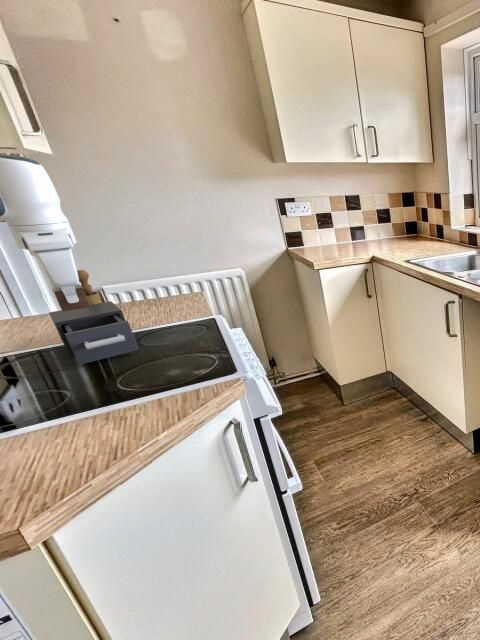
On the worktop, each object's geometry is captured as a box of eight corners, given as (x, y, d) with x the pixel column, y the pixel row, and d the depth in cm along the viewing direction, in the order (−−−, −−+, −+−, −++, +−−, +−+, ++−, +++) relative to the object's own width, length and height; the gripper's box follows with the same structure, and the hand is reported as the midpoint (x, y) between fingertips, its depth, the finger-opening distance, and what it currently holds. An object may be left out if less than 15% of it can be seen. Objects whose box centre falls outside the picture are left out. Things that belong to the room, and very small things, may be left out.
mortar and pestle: (107, 332, 124) (83, 272, 117) (83, 334, 123) (56, 273, 116) (123, 325, 130) (100, 267, 123) (99, 326, 129) (75, 268, 122)
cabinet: (134, 343, 115) (121, 309, 112) (71, 358, 106) (54, 322, 103) (123, 332, 124) (111, 301, 120) (64, 345, 115) (48, 312, 111)
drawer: (143, 353, 106) (132, 324, 103) (81, 369, 98) (67, 338, 95) (128, 338, 116) (117, 312, 113) (71, 352, 108) (58, 323, 105)
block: (62, 311, 92) (53, 291, 91) (60, 307, 95) (51, 288, 93) (90, 306, 96) (82, 287, 94) (87, 303, 98) (79, 284, 97)
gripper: (21, 235, 94) (47, 295, 99) (26, 243, 81) (56, 312, 86) (60, 232, 98) (84, 289, 103) (71, 239, 86) (98, 304, 91)
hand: (72, 300), depth 95 cm, fingers closed on block, 4 cm apart
